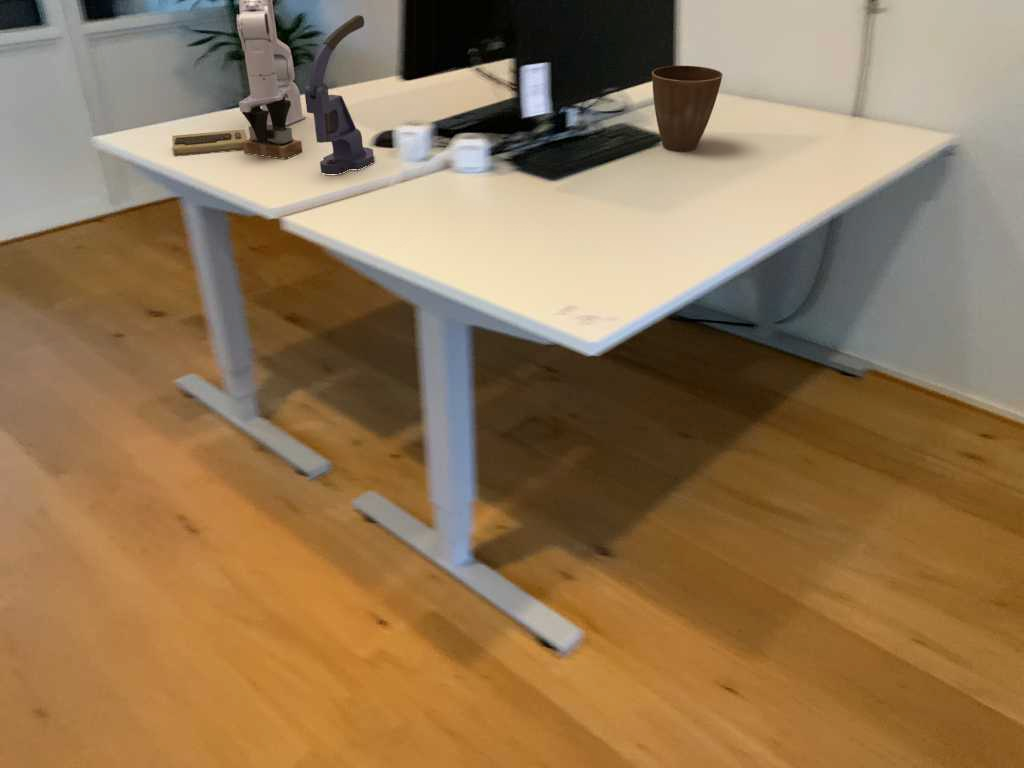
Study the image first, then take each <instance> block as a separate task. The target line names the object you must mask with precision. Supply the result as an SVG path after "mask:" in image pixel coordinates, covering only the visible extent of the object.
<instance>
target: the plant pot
mask: <svg viewBox="0 0 1024 768" xmlns="http://www.w3.org/2000/svg"><path fill="white" fill-rule="evenodd" d="M651 74H652V75H651V77H652V79H651V81H652V95H653V104H654V105H653V106H654V112H655V117H656V118H655V119H656V123H657V127H658V131H659V133H658V134H659V136H660V140H661V143H662V147H663V148H664V149H666V150H668V151H672V150H673V151H672V152H688V151H687V150H691V151H694V150H696V149H697V147H698V145H699V142H700V141H701V139H702V137H703V135H704V133H705V130H706V128H707V126H708V123H709V121H710V118H711V115H712V113H713V111H714V107H715V105H716V104H715V103H716V101H717V97H718V93H719V90H720V87H721V84H722V79H723V72H721V71H720V70H718V69H714V68H710V67H703V66H699V65H698V66H696V65H669V66H668V65H667V66H661V67H658V68H655V69H654V70H652V72H651ZM695 148H696V149H695ZM693 149H694V150H693Z"/></svg>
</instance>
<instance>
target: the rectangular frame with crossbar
mask: <svg viewBox="0 0 1024 768" xmlns="http://www.w3.org/2000/svg"><path fill="white" fill-rule="evenodd" d="M302 147H303V146H302V140H298V139H293V140H291V141H289V143H288V144H286V145H283V146H276V145H273V142H272V141H267V142H266V143H256V142H254V139H252V138H247V140H245V141H243V149H244V150H243V152H245V153H244V154H246V153H251V154H250V155H253V154H257V155H256V156H259V155H264V156H263V157H265V156H271V157H270V158H272V157H277V158H276V159H278V158H284V159H286V158H288V157H290V158H292V157H294V156H293V155H295V154H297V155H299V154H301V153H300V152H302V153H303V148H302ZM298 153H299V154H298ZM291 156H292V157H291ZM295 156H296V155H295ZM284 159H283V160H284ZM288 159H289V158H288ZM286 160H287V159H286Z"/></svg>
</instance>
